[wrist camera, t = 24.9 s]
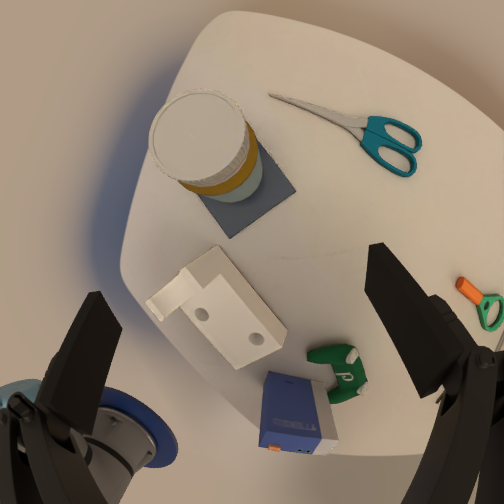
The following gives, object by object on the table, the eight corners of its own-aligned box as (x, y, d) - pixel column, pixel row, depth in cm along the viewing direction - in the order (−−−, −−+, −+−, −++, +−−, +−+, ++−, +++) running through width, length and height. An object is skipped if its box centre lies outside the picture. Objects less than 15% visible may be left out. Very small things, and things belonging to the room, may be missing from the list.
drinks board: (230, 238, 31) (229, 239, 30) (173, 159, 31) (171, 157, 30) (295, 191, 30) (296, 190, 29) (234, 113, 29) (233, 111, 29)
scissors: (413, 180, 28) (259, 115, 28) (410, 181, 29) (259, 118, 29) (424, 134, 27) (277, 71, 27) (420, 136, 28) (277, 75, 28)
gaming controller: (336, 387, 34) (373, 388, 30) (324, 405, 31) (363, 408, 27) (316, 338, 34) (356, 334, 29) (302, 355, 31) (345, 354, 27)
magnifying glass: (506, 303, 29) (512, 306, 27) (490, 334, 30) (496, 338, 28) (465, 262, 29) (472, 264, 27) (446, 299, 30) (453, 303, 28)
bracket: (179, 277, 33) (144, 302, 26) (217, 244, 31) (184, 266, 24) (244, 353, 34) (224, 391, 27) (287, 330, 31) (274, 371, 24)
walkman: (263, 386, 33) (258, 449, 22) (269, 370, 33) (265, 432, 21) (317, 397, 33) (329, 458, 21) (324, 382, 33) (340, 442, 21)
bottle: (207, 208, 30) (150, 201, 15) (197, 151, 30) (138, 102, 15) (268, 196, 30) (263, 173, 15) (255, 137, 29) (240, 71, 14)
